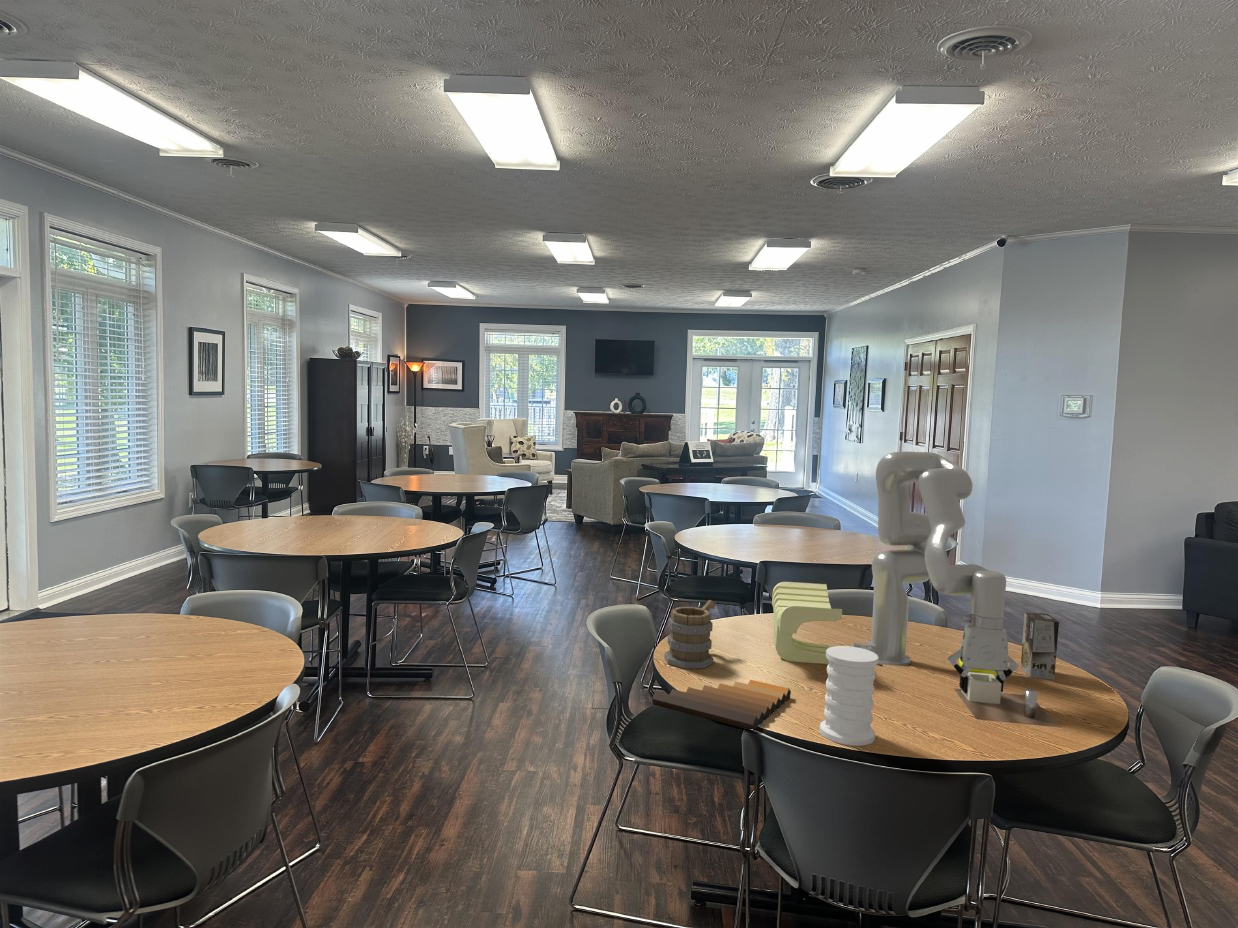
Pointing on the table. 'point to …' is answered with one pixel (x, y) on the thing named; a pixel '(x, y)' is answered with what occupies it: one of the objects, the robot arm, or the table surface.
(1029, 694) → the post
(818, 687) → the table surface
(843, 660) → the decorative container
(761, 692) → the pan flute
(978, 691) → the collar
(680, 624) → the tankard
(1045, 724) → the board
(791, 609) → the slatted curved stool
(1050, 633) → the coffee box
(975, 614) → the robot arm
